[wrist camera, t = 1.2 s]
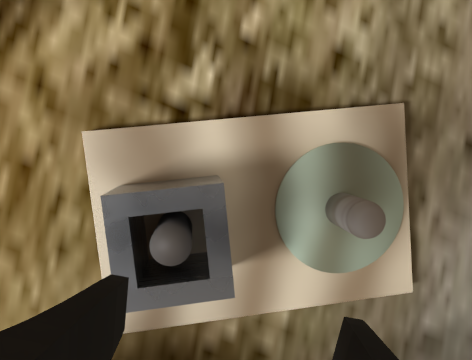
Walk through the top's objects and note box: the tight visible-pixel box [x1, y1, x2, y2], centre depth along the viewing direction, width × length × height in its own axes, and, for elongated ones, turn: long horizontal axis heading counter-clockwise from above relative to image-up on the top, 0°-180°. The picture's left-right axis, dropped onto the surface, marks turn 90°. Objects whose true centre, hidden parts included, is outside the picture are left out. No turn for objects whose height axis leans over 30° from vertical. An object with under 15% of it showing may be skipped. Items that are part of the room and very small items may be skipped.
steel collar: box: [100, 175, 235, 313], centre depth 20 cm, size 6×6×4 cm
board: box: [82, 103, 413, 334], centre depth 21 cm, size 19×12×6 cm, turn 95°
